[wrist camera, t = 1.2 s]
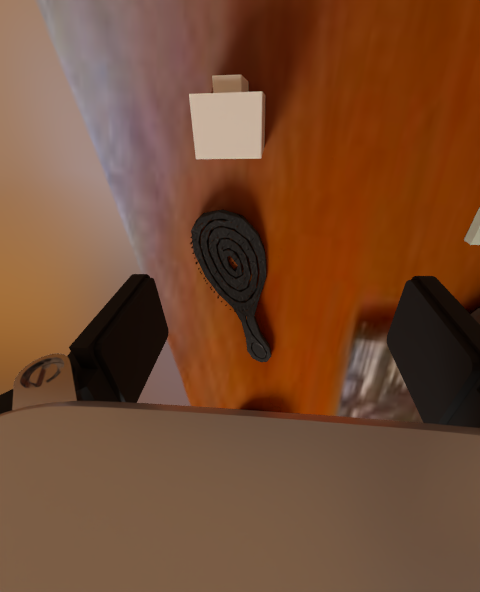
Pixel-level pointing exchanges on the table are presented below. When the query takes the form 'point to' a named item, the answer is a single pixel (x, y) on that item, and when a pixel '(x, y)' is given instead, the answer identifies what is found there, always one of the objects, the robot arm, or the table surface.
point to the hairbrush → (230, 284)
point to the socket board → (474, 231)
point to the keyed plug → (228, 120)
